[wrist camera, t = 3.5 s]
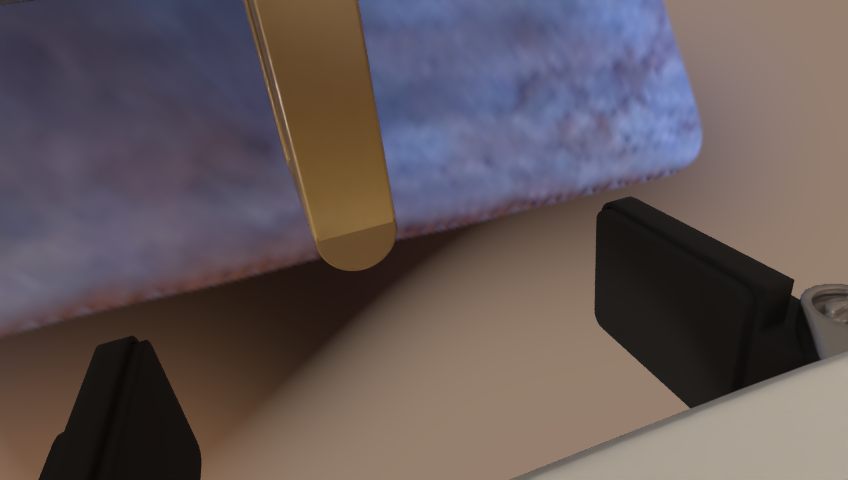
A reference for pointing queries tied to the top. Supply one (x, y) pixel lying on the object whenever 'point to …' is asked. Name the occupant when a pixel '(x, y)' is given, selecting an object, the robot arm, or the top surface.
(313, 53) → the door
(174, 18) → the top surface
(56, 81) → the top surface
